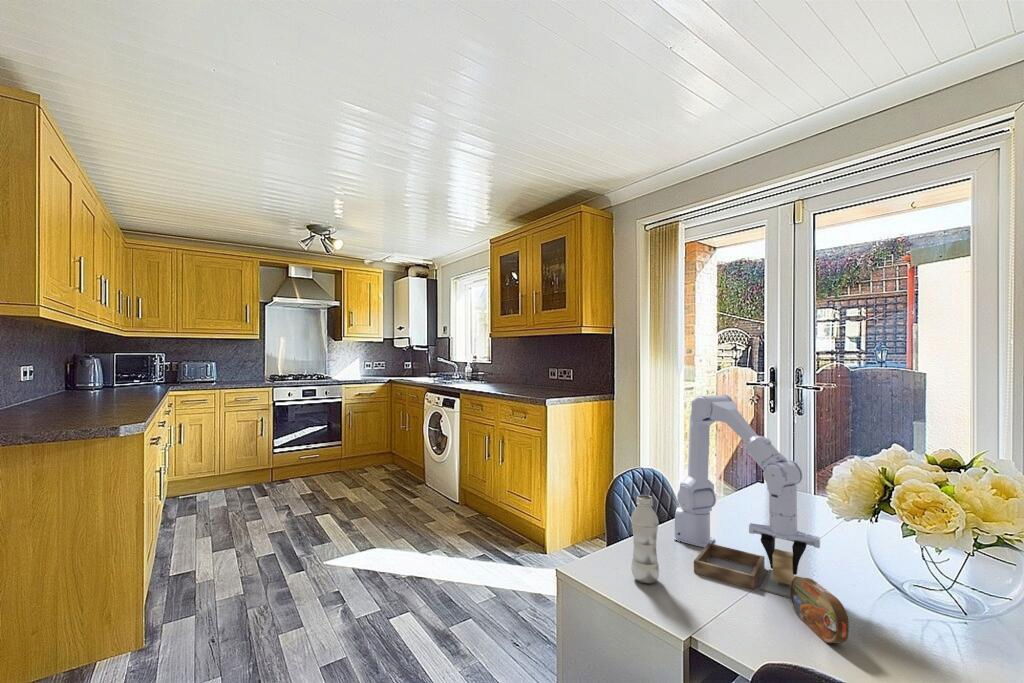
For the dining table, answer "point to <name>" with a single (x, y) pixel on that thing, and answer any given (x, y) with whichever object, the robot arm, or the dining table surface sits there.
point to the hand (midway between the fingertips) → (783, 570)
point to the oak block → (783, 566)
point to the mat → (775, 586)
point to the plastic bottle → (644, 541)
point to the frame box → (727, 573)
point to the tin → (819, 610)
